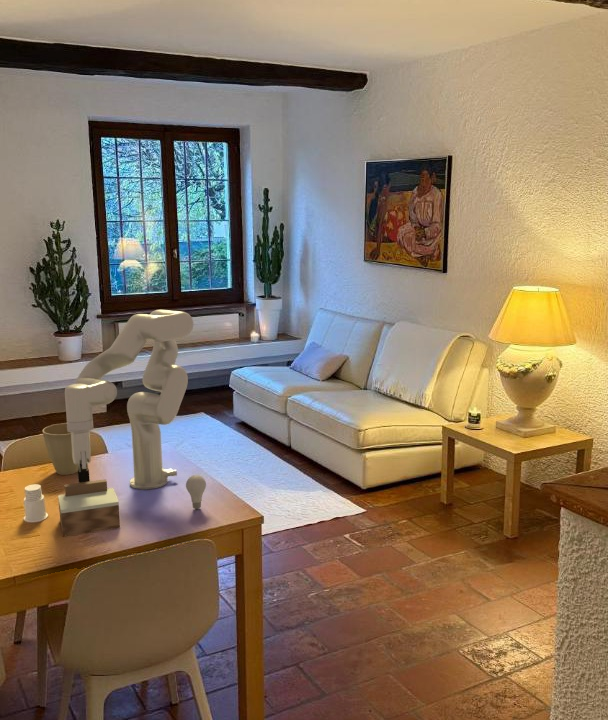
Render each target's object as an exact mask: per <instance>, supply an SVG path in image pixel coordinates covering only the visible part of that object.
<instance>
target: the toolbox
mask: <svg viewBox="0 0 608 720" xmlns="http://www.w3.org/2000/svg"><path fill="white" fill-rule="evenodd" d="M58 510H59V522H60V528H61V535H62V538H64V537H71V536H77V535H83V534H89V533H96V532H103V531H108V530H109V531H110V530H115V529H120V528H121V519H120V504H119V505H116V506H109V507H102V508H95V509H88V510H81V511H75V512H68V513H61V510H60V504H59V503H58Z"/></svg>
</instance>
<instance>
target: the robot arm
mask: <svg viewBox="0 0 608 720" xmlns="http://www.w3.org/2000/svg"><path fill="white" fill-rule="evenodd" d="M125 323H126V324H124V326H123V327H122V329H121V331H120V332H119V334H118V335H117V337H116V338H115V340H114V341H113V343H112V344H111V346H110V347H109V348H107V349H105V351H103V352H101V353H100V354H98V355H96V357H94V358H92V359H91V360H90V361H89V362H88V363H87V364H86V365H85V366H84V367H83V369H82V370H81V372H80V373H79V375H78V376H77V377H76V380H75V381H74V384H72V383H71V384H70V385H67V386H65V389H64V399H65V401H64V402H65V413H66V423H67V431H68V432H71V445H72V458H73V462H74V464H75V465H76V464H78V469H79V470H78V472H77V479H78V481H77V482H78V483H82V482H89V481H91V479H90V469H89V464H90V463H91V461H92V459H91V456H92V455H91V437H90V436H91V433H90V431H92V430H94V418H93V407H97V406H106V405H109V404H110V403H112V402H113V401H115V399H116V398H117V396H118V388H117V387H116V385H115V384H114V383H113V382H112V381H110V380H106V379H102V378H103V377H104V376H105V375H108V373H110V372H112V371H115V370H117V369H121V368H123V367H127V366H129V365H132V363H134V362H135V360H136V358H137V357H138V355H139V353H140V352H141V350H142V349H143V347H144V346H145V345H146V343H147V342H153V347H152V350H151V354H150V356H149V359H148V362H147V365H146V367H145V369H144V372H143V375H142V384H143V386H144V387H145V388H147V389H149V390H151V391H154V392H155V391H156V392H160V394H158V393H153V392H146V391H139V392H135V393H133V394H132V395H130V397H129V398H128V401H127V403H126V410H127V411H126V412H127V416H128V418H129V423H130V424H129V425H130V428H131V442H132V443H131V444H132V461H133V463H132V464H133V476H134V477H132V478H131V479H130V480H129V486H130V487H131V488H133V489H137V490H145V491H146V490H154V489H159V488H161V487H163V486H165V485H167V484H168V482H169V479H168V477H175V476H178V472H177V469H172V468H168V469H165V468H164V467H163V450H162V433H161V428H160V426H159V425H163V426H166V425H169V424H171V423H172V422H173V421H174V420H175V418H176V417H177V415H178V412H179V410H180V406H181V404H182V401H183V399H184V396H185V393H186V390H187V388H188V383H189V381H188V380H189V377H188V373H187V371H186V369H185V368H184V367H182V366H180V365H177V364H176V361H177V358H178V354H179V347H178V343H177V341H176V340H179V339H182V338H185V337H187V336H189V335H190V334H191V333H192V331H193V328H194V320H193V317H192V316H191V314H189V313H188V312H185V311H179V310H168V309H156V310H153V311H151V312H150V314H147V313H137V314H133V315H132V316H131V317H130V318H129V319H128V320H127V322H125Z"/></svg>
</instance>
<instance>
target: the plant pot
mask: <svg viewBox="0 0 608 720" xmlns="http://www.w3.org/2000/svg"><path fill="white" fill-rule="evenodd" d="M42 435H43V438H44V443H45V447H46V450H47V453H48V455H49V459H50V461H51V464H52V466H53V468H54V470H55V472H56V474H58V475H60V476H61V475H62V476H67V475H69V476H70V475H73V474H76V473H78V470H79V469H78V464H76V465H75V464H74V462H73V458H72V445H71V432H68V431H67V422H64V423H63V422H62V423H56V424H51V425H48V426H46V427H44V428H43V429H42Z"/></svg>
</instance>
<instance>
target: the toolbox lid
mask: <svg viewBox="0 0 608 720" xmlns="http://www.w3.org/2000/svg"><path fill="white" fill-rule="evenodd" d="M57 496H58V497H57V498H58V505H59V504H60V510H61V513H68V512H75V511H81V510H88V509H95V508H102V507H109V506H116V505H119V506H120V503H119V499H118V496H117V494H116V492H115V489H114V487H109V488H108V481H107V479H105V478H104V479H97V480H90V481H89V482H82V483H79V482H76V483H74V482H73V483H67V484H64V494H58V495H57Z"/></svg>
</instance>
